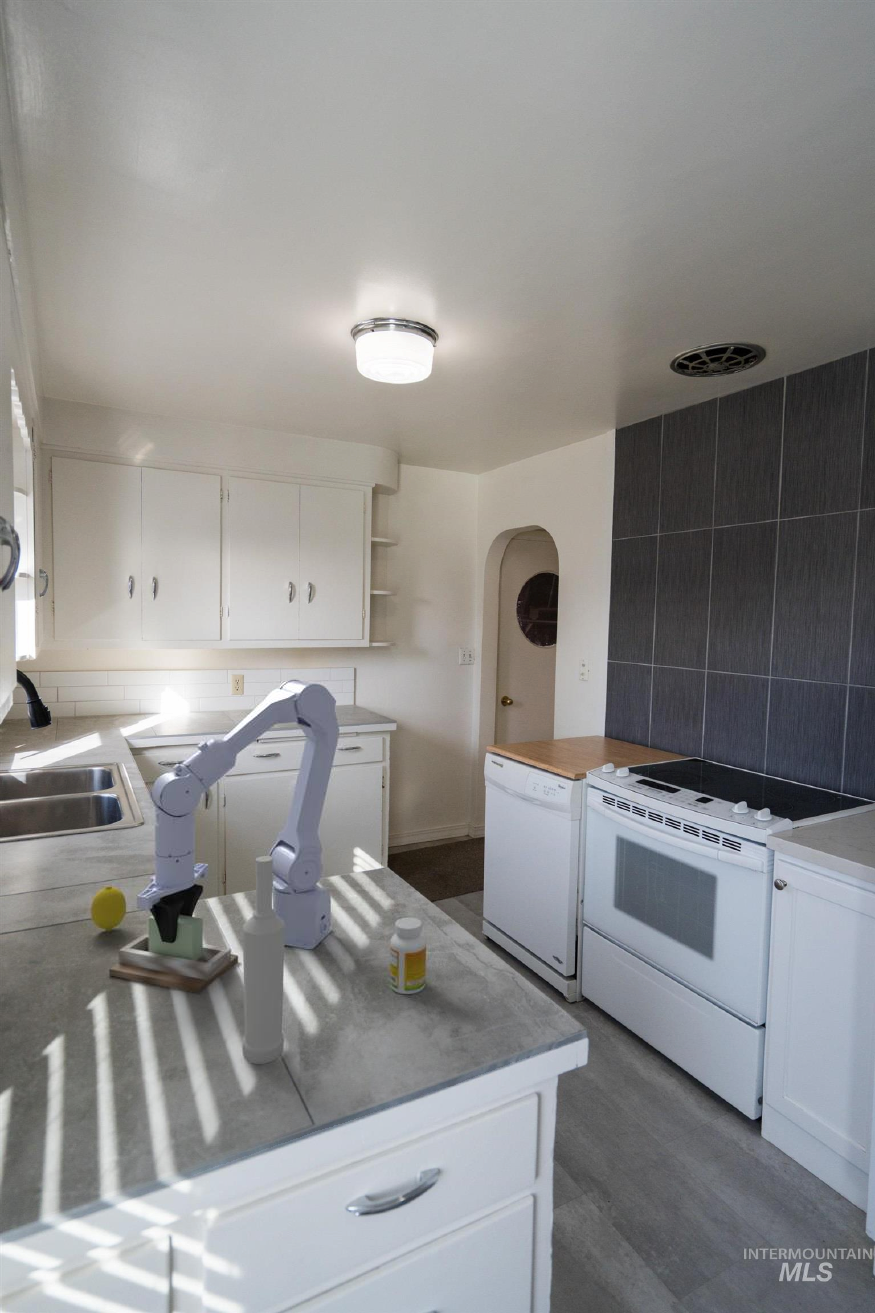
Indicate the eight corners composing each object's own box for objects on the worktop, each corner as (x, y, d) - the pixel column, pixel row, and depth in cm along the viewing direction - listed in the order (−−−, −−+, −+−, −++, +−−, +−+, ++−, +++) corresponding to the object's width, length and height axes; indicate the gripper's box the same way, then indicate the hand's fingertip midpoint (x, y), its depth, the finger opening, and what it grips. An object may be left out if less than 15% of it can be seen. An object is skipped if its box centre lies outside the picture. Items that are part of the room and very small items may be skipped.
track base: (238, 961, 111) (238, 943, 110) (199, 993, 101) (199, 973, 101) (154, 946, 115) (154, 928, 115) (109, 975, 106) (109, 956, 106)
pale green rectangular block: (202, 956, 108) (202, 918, 108) (192, 963, 106) (192, 925, 105) (159, 948, 110) (159, 911, 110) (148, 955, 108) (148, 917, 108)
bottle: (246, 1040, 90) (247, 852, 89) (286, 1039, 91) (288, 851, 89) (238, 1066, 85) (238, 866, 84) (281, 1064, 85) (282, 866, 84)
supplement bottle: (430, 980, 106) (431, 918, 106) (417, 998, 101) (419, 933, 100) (397, 973, 108) (398, 912, 107) (384, 991, 103) (385, 927, 102)
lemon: (112, 940, 117) (112, 893, 117) (83, 936, 118) (83, 890, 118) (133, 925, 123) (132, 881, 122) (105, 922, 124) (105, 878, 123)
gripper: (183, 834, 115) (183, 914, 116) (119, 863, 101) (119, 954, 102) (219, 839, 113) (219, 920, 114) (159, 869, 99) (160, 962, 100)
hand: (174, 937), depth 108 cm, fingers closed on pale green rectangular block, 2 cm apart
